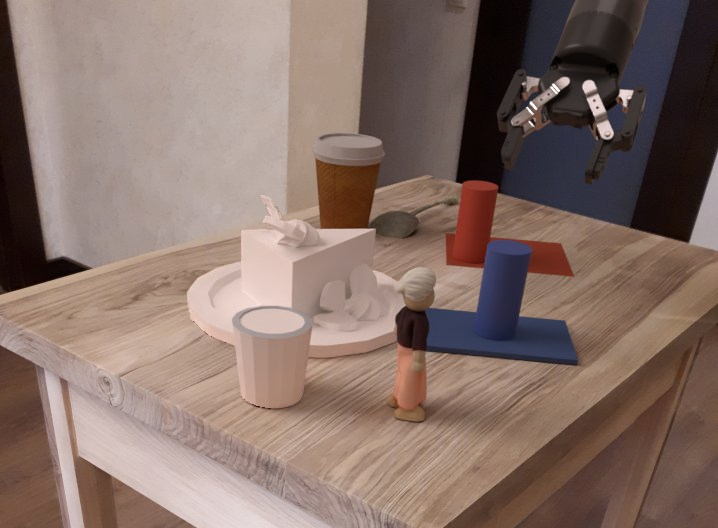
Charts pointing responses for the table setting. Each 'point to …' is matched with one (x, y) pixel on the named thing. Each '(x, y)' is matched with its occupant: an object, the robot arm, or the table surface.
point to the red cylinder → (474, 221)
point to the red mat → (542, 259)
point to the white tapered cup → (272, 354)
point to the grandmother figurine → (412, 343)
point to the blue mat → (529, 342)
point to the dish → (303, 285)
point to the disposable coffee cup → (346, 178)
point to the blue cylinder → (502, 289)
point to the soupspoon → (403, 220)
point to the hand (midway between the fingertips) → (547, 172)
